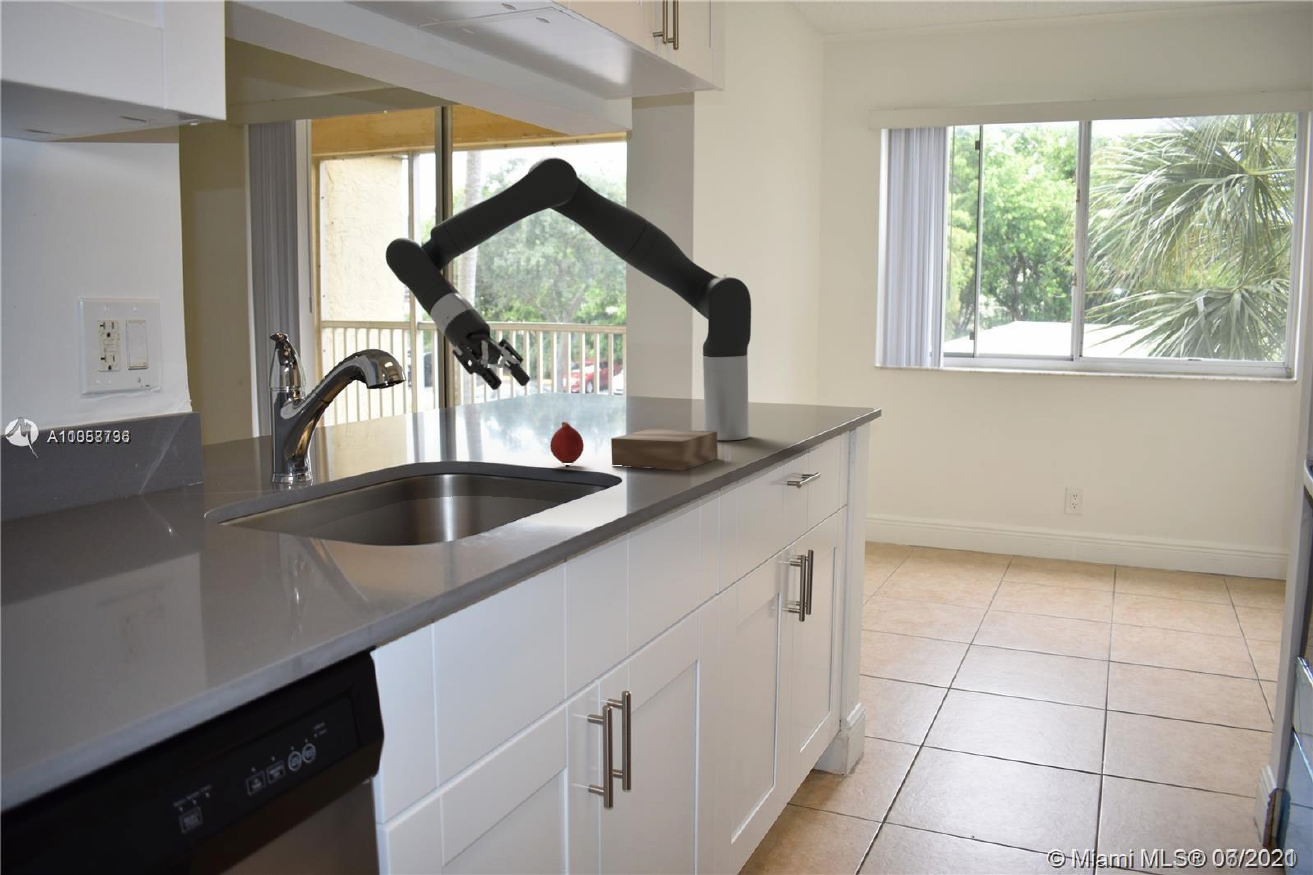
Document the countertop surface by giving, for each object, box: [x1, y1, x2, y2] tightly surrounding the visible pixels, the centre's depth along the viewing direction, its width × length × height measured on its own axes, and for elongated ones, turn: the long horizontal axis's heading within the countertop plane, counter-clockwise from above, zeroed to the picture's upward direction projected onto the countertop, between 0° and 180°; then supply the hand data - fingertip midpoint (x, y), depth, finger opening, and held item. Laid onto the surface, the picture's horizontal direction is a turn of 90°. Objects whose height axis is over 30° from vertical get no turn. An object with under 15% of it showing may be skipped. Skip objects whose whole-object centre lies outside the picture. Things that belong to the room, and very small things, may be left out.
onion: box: [549, 421, 584, 464], centre depth 178 cm, size 6×6×8 cm
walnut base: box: [610, 428, 719, 472], centre depth 179 cm, size 14×14×5 cm
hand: (512, 384), depth 182 cm, fingers open, 8 cm apart
